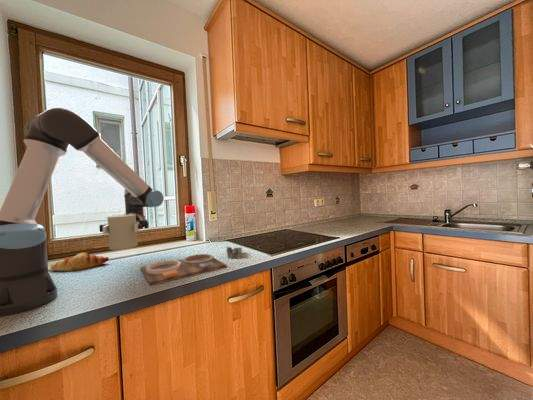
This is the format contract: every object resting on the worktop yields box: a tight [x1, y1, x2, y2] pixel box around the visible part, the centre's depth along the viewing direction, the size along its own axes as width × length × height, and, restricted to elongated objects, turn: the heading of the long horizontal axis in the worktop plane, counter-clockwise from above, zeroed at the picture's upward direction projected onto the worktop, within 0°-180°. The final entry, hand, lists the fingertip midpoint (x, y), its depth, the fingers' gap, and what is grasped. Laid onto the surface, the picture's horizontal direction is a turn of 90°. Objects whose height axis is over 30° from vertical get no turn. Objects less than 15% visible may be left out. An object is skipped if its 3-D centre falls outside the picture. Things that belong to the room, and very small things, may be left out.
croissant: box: [49, 252, 109, 272], centre depth 103 cm, size 21×10×8 cm, turn 113°
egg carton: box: [226, 245, 243, 259], centre depth 114 cm, size 11×8×4 cm
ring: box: [146, 259, 181, 278], centre depth 92 cm, size 13×18×2 cm
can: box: [106, 213, 139, 251], centre depth 86 cm, size 9×9×12 cm
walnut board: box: [140, 253, 227, 286], centre depth 97 cm, size 29×21×2 cm
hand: (120, 229), depth 82 cm, fingers closed on can, 9 cm apart
